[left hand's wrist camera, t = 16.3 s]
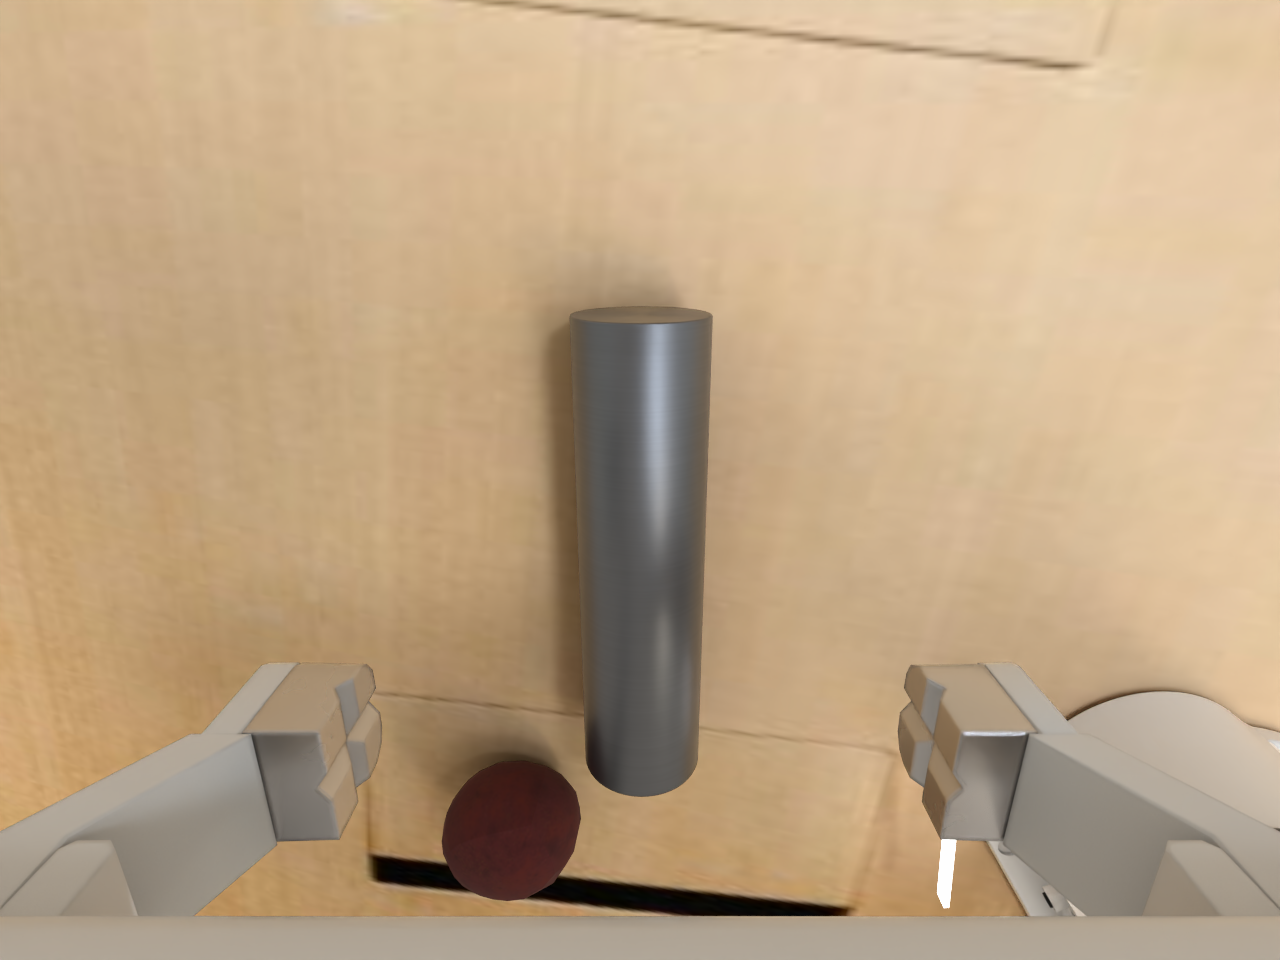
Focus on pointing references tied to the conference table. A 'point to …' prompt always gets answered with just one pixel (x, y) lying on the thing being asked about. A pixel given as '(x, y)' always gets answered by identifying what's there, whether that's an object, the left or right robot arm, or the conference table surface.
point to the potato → (511, 830)
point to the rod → (641, 537)
